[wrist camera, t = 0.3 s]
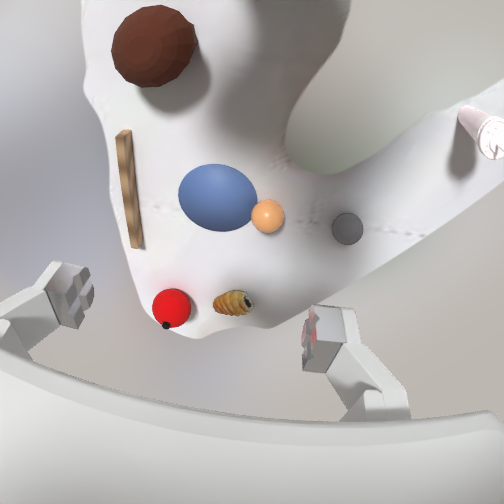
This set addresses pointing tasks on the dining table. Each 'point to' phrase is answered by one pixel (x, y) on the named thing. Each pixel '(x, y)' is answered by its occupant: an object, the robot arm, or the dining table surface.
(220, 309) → the pastry
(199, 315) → the dining table surface
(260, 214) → the object ball
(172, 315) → the ornament
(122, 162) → the wall
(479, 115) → the smoothie
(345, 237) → the grey matte sphere
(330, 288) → the dining table surface
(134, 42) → the muffin
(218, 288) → the dining table surface
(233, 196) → the blue flat disc
